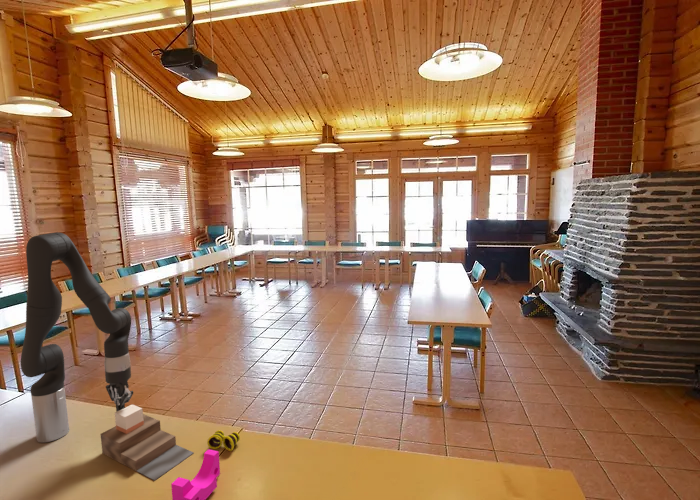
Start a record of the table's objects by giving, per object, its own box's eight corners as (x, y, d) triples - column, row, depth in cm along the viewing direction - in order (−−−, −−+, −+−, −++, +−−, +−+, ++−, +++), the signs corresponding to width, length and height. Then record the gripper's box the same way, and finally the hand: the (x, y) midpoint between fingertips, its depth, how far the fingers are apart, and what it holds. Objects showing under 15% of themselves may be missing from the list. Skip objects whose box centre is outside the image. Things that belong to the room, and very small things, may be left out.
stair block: (102, 453, 123) (100, 434, 122) (142, 430, 135) (140, 413, 135) (154, 480, 110) (152, 459, 109) (193, 453, 122) (192, 433, 121)
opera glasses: (241, 443, 127) (240, 429, 127) (233, 453, 122) (232, 439, 122) (215, 440, 129) (215, 427, 129) (207, 450, 124) (206, 436, 123)
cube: (116, 429, 125) (114, 412, 124) (133, 420, 130) (132, 404, 129) (126, 433, 122) (125, 417, 121) (143, 424, 127) (142, 408, 127)
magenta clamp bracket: (191, 514, 98) (189, 489, 97) (173, 509, 100) (171, 483, 99) (226, 475, 112) (225, 453, 111) (209, 471, 114) (208, 449, 113)
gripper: (95, 366, 126) (98, 413, 128) (117, 375, 120) (121, 424, 122) (117, 358, 132) (120, 403, 134) (140, 366, 126) (142, 413, 128)
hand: (120, 413), depth 128 cm, fingers closed
